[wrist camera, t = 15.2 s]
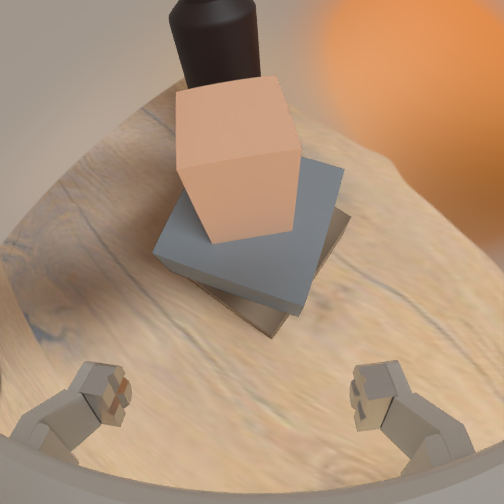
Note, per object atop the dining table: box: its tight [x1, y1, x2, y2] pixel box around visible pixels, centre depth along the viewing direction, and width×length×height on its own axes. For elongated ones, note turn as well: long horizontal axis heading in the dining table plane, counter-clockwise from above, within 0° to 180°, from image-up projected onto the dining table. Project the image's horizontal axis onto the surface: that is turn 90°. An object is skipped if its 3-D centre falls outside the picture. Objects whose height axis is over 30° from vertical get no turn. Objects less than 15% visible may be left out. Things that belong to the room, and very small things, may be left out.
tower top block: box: [152, 157, 344, 317], centre depth 22 cm, size 10×10×4 cm
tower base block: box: [186, 207, 351, 339], centre depth 26 cm, size 11×11×4 cm
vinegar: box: [169, 0, 261, 89], centre depth 23 cm, size 7×7×20 cm
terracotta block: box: [176, 75, 302, 244], centre depth 16 cm, size 5×5×8 cm
